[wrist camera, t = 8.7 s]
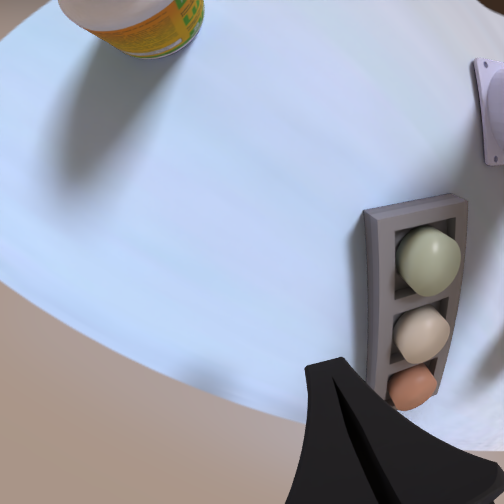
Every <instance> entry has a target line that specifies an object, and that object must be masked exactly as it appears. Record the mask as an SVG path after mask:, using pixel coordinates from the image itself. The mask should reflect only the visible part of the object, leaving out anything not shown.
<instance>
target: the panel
mask: <svg viewBox="0 0 504 504" xmlns="http://www.w3.org/2000/svg"><path fill="white" fill-rule="evenodd" d="M467 218H468V201H467V200H465V199H462V198H460V197H458V196H455V195H453V194H451V193H450V194H444V195H439V196H434V197H428V198H423V199H418V200H413V201H408V202H402V203H397V204H392V205H387V206H382V207H377V208H372V209H367V210H364V221H365V235H366V252H367V275H368V352H367V376H366V383H367V384H368V385H369V386H370V387H371V388H372V389H373V390H374V391H375V392H376V393H377V394H378V395H379V396H380V397H381V398H382V399H383V400H384V401H386V402H387V403H388V404H389V405H390V406H391V407H393V408H394V409H395V410H398V409H397V408H396V406H395V404H394V402H393V400H392V399H391V397H390V395H389V393H388V391H387V385H388V382H389V380H390V379H391V377H392V376H393V375H394V374H395V373H396V372H399V371H402V370H404V369H407V368H410V367H413V366H415V365H418V364H412V363H409V362H407V361H406V359H405V358H404V356H403V355H402V353H401V352H400V350H399V349H398V347H397V346H396V344H395V343H394V341H393V329H394V327H395V325H396V323H397V321H398V320H399V318H400V317H401V316H402V315H403V314H404V313H405V312H406V311H408V310H411V309H414V308H417V307H420V306H423V305H426V304H429V305H431V306H433V307H434V308H435V309H436V310H437V311H438V312H439V314H440V315H441V316H442V317H443V318H444V319H445V320H446V321H447V322H448V324H449V326H450V334H449V337H448V340H447V342H446V344H445V345H444V347H443V348H442V349H441V350H440V351H439V352H438V353H437V354H436V355H435V356H434V357H432V358H431V359H429V360H427V361H425V362H423V363H424V364H425V365H426V366H427V368H428V369H429V371H430V372H431V374H432V375H433V377H434V378H435V379H436V381H437V386H436V389H435V391H434V393H433V394H432V395H431V396H430V397H432V396H434V395H436V394H437V392H438V389H439V386H440V382H441V379H442V375H443V372H444V368H445V364H446V361H447V357H448V353H449V348H450V344H451V340H452V335H453V330H454V326H455V320H456V315H457V310H458V304H459V298H460V291H461V284H462V277H463V269H464V259H465V249H466V236H467ZM424 225H428V226H432V227H434V228H436V229H438V230H439V231H441V232H442V233H444V234H446V235H447V236H449V237H450V238H452V239H453V240H455V241H456V243H457V244H458V246H459V248H460V252H461V262H460V267H459V270H458V272H457V275H456V276H455V278H454V280H453V281H452V283H451V284H450V285H449V286H448V287H447V288H446V289H445V290H443V291H442V292H440V293H439V294H437V295H434V296H429V297H425V296H421V295H419V294H417V293H416V292H415V291H414V290H413V289H412V288H411V287H410V286H409V285H408V284H407V283H406V282H405V281H404V280H403V278H402V277H401V276H400V275H399V274H398V272H397V269H396V264H395V259H396V253H397V250H398V247H399V245H400V243H401V241H402V240H403V238H404V237H405V236H406V235H407V234H408V233H409V232H410V231H412V230H413V229H415V228H417V227H419V226H424ZM419 364H420V363H419Z"/></svg>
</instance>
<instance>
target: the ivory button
mask: <svg viewBox="0 0 504 504" xmlns="http://www.w3.org/2000/svg"><path fill="white" fill-rule="evenodd" d="M449 334H450V326H449V324H448V322H447V321H446V320H445V319H444V318H443V317H442V316H441V315H440V314H439V312H438V311H437V310H436V309H435V308H434V307H433V306H431V305H429V304H426V305H423V306H420V307H417V308H414V309H411V310H408V311H406V312H405V313H404V314H403V315H402V316H401V317H400V318H399V320H398V321H397V323H396V325H395V327H394V329H393V341H394V343H395V344H396V346H397V347H398V349H399V350H400V352H401V353H402V355H403V356H404V358H405V359H406V361H407V362H409V363H412V364H419V363H423V362H425V361H427V360H429V359H431V358H432V357H434V356H435V355H436V354H437V353H438V352H439V351H440V350H441V349H442V348H443V347H444V345H445V344H446V342H447V340H448V337H449Z"/></svg>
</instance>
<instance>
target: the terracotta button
mask: <svg viewBox="0 0 504 504" xmlns="http://www.w3.org/2000/svg"><path fill="white" fill-rule="evenodd" d="M436 386H437V381H436V379H435V378H434V377H433V375H432V374H431V372H430V371H429V369H428V368H427V366H426V365H425V364H424V363H420V364H418V365H415V366H413V367H410V368H407V369H404V370H402V371H399V372H396V373H395V374H394V375H393V376H392V377H391V379H390V380H389V382H388V385H387V391H388V393H389V395H390V397H391V399H392V400H393V402H394V404H395V406H396V408H397V409H398V410H401V411H407V410H411V409H413V408H416V407H418V406H419V405H421V404H423V403H424V402H425V401H426V400H428V399H429V398H430V396H431V395H432V394H433V393H434V391H435V389H436Z"/></svg>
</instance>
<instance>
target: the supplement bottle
mask: <svg viewBox="0 0 504 504" xmlns="http://www.w3.org/2000/svg"><path fill="white" fill-rule="evenodd" d="M58 2H59V5H60V8H61V10H62V11H63V13H64V14H65V15H66V16H67V17H68V18H69V19H70V20H71V21H73V22H74V23H75V24H77V25H78V26H80V27H82V28H83V29H85V30H87V31H89V32H90V33H92V34H94V35H95V36H97V37H99V38H101V39H102V40H104V41H106V42H108V43H109V44H111V45H112V46H114V47H116V48H117V49H119V50H120V51H122V52H123V53H125V54H127V55H129V56H132V57H135V58H139V59H157V58H161V57H165V56H168V55H171V54H173V53H175V52H177V51H179V50H180V49H182V48H183V47H185V46H186V45H187V44H188V43H189V42H190V41H191V40H192V39H193V38H194V37H195V36H196V34H197V33H198V31H199V30H200V27H201V25H202V23H203V19H204V11H205V10H204V1H203V0H58Z"/></svg>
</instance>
